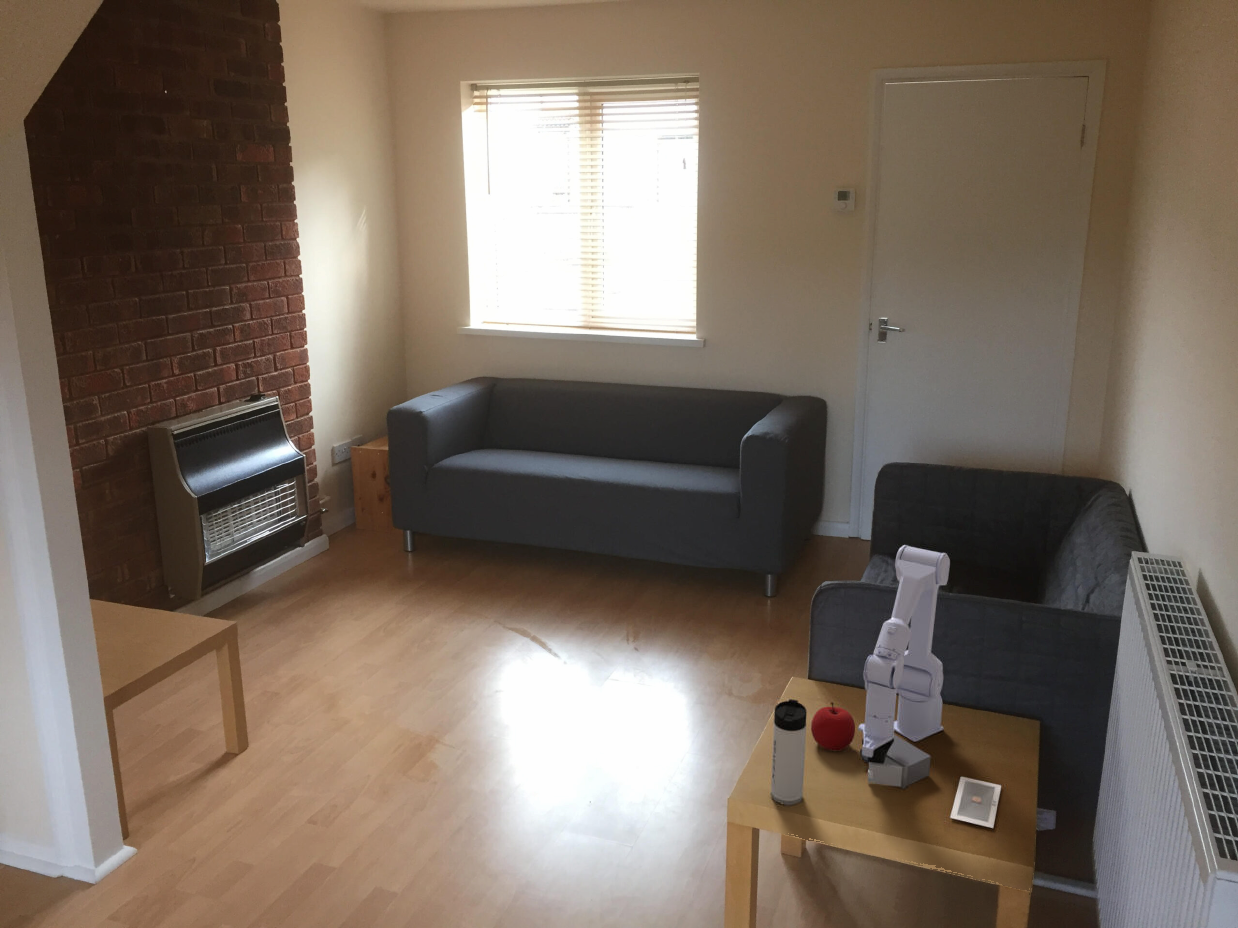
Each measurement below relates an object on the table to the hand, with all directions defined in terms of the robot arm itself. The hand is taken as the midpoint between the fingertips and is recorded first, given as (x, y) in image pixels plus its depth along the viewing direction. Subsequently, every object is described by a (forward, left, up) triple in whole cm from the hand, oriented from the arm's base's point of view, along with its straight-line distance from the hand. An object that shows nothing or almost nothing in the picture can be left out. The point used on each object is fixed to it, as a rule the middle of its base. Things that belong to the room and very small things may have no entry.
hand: (875, 770), depth 215 cm
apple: (-2, -14, -2) cm, 14 cm away
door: (0, +3, -2) cm, 4 cm away
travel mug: (+19, -6, -2) cm, 20 cm away
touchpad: (-10, +17, -3) cm, 20 cm away
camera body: (-7, -1, -2) cm, 7 cm away
